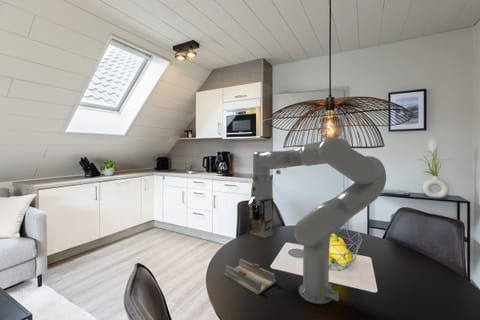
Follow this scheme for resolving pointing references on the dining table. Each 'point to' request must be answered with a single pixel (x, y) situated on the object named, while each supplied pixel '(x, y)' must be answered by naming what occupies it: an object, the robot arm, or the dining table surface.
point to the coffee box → (263, 219)
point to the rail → (250, 276)
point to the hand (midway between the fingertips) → (261, 217)
